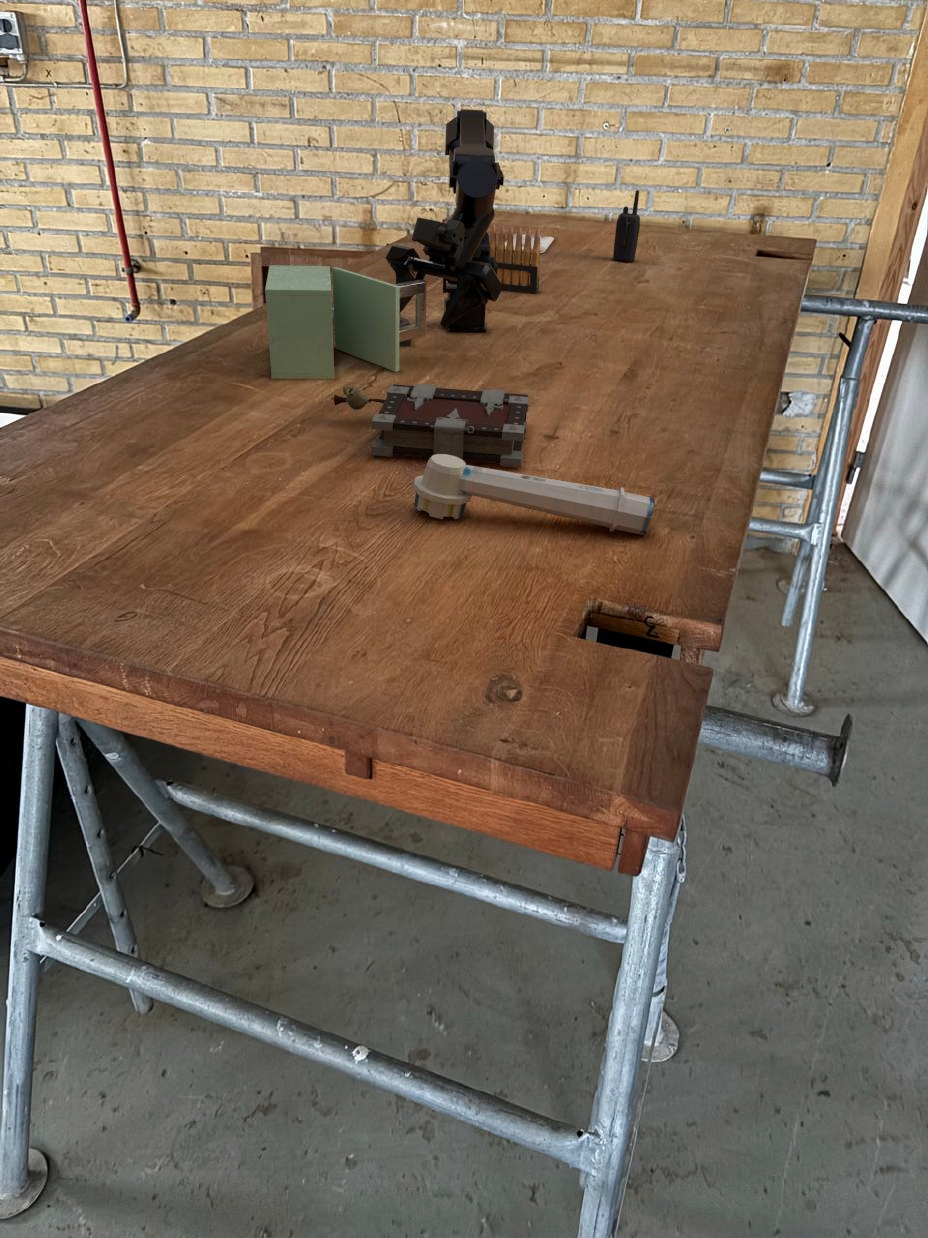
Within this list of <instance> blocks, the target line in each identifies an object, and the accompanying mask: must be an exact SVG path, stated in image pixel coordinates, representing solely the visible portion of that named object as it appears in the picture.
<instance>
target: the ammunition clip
mask: <svg viewBox="0 0 928 1238" xmlns="http://www.w3.org/2000/svg"><path fill="white" fill-rule="evenodd" d="M491 225H492V226H491V227H490V233H489V242H490V256H493V257H494V261H495V263H496V265H497V266H498V271H497V277H498V278H499V280H500V282H501V285H502V289H501V291H508V292H517V293H523V294H524V293H526V294H534V295H536V294H538V293H539V292H540V291H539V290H540V289H539V288H540V287H539V285H540V264H541V263H540V262H541V253H540V236H541V230H540V228H539V227H536V231H535V233H534V235H535V238H534V245H533V250H532V253H531V235H532V230H531V227H530V226H528V227H527V229H526V233H525V235H526V237H525V244H524V250H523V252H522V234H523V229H522V226H520V225H519V227H518V229H517V232H516V234H517V236H516V244H515V249H514V247H513V237H514V235H513V234H514V226H513V225H511V224H510V226H509V228H508V233H507V239H506V231H505V226H504V224H503V223H502V224H501V226H500V228H499V232H498V240H497V229H496V228H497V227H496V224H495V223H492V224H491ZM505 239H506V240H507V245H506V250H505V241H506V240H505Z"/></svg>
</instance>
